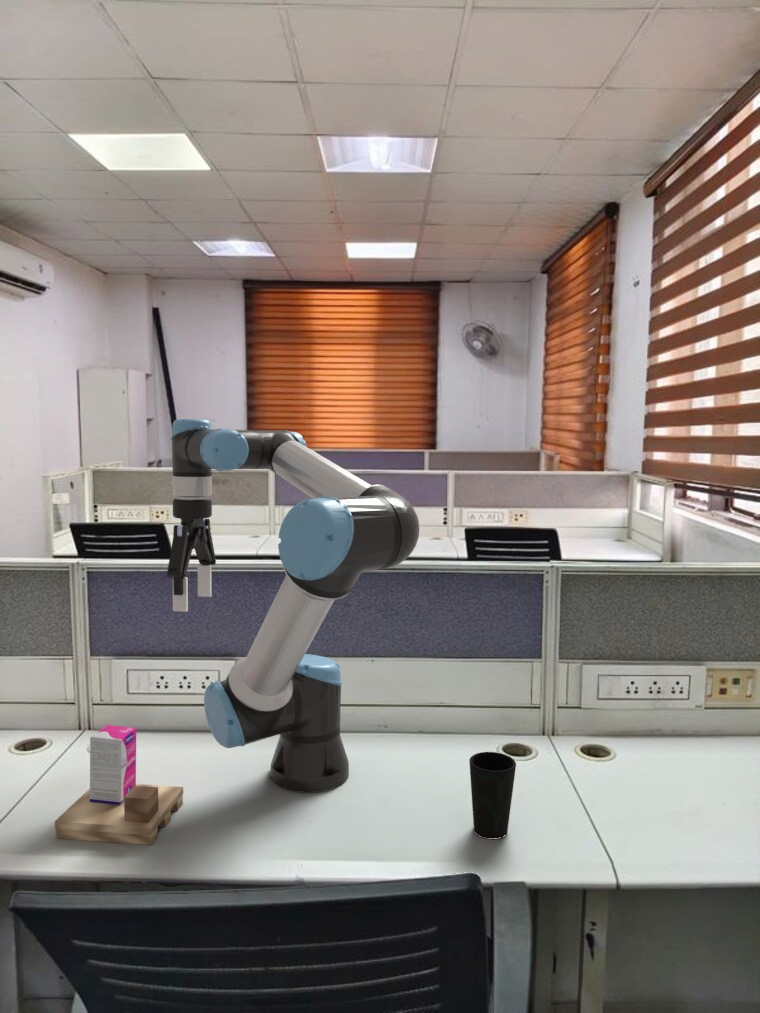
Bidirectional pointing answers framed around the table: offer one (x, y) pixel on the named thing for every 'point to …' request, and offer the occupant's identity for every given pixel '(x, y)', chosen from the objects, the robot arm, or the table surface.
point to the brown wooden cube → (141, 804)
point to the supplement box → (112, 764)
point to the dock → (116, 819)
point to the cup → (491, 792)
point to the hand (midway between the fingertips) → (193, 603)
